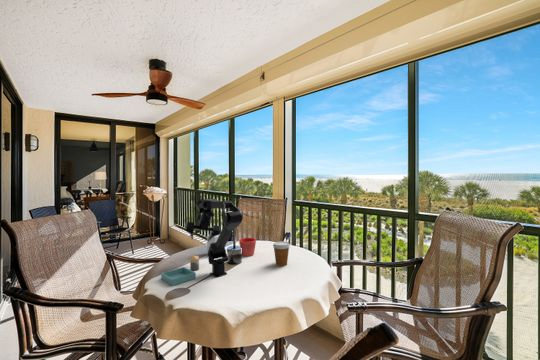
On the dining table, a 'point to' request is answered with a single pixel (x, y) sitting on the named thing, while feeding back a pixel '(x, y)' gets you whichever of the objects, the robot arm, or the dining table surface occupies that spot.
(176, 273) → the trough tray
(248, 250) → the flower pot
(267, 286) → the dining table surface
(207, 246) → the supplement box
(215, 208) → the robot arm
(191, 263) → the battery cell
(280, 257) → the disposable coffee cup
